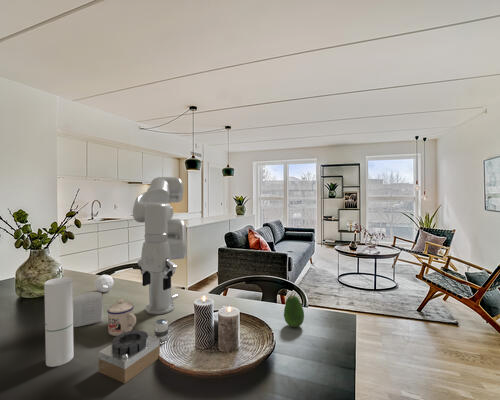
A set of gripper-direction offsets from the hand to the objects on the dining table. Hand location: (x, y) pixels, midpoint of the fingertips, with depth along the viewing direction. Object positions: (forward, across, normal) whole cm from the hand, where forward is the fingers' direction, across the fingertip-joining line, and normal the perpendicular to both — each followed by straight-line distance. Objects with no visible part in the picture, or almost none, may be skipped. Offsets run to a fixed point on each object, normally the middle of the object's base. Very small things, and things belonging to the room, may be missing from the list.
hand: (156, 286), depth 95 cm
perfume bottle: (+18, -61, +22) cm, 68 cm away
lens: (+20, +1, +1) cm, 20 cm away
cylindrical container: (+20, -20, -21) cm, 35 cm away
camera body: (+20, +2, -13) cm, 24 cm away
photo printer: (+19, -35, -2) cm, 40 cm away
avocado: (+20, +40, +32) cm, 55 cm away
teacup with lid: (+19, -17, 0) cm, 26 cm away
